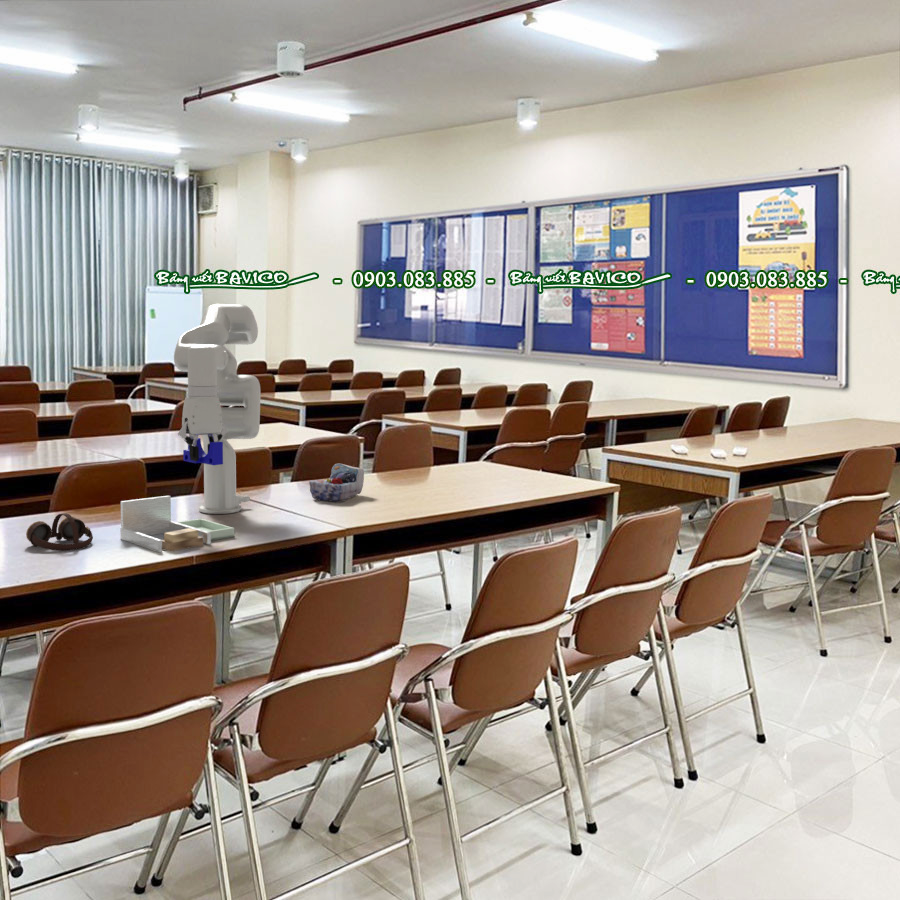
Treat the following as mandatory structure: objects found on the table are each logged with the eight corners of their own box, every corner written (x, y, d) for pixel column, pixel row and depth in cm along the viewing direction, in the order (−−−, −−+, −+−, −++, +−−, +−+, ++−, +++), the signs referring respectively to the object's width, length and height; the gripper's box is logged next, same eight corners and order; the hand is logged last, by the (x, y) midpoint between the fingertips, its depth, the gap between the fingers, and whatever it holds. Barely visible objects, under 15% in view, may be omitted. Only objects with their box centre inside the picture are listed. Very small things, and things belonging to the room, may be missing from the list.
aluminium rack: (170, 531, 281) (169, 495, 280) (210, 543, 267) (210, 506, 266) (119, 538, 271) (118, 501, 270) (158, 552, 257) (157, 513, 255)
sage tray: (201, 527, 287) (201, 518, 287) (234, 537, 276) (234, 527, 275) (174, 531, 281) (174, 522, 281) (206, 541, 270) (206, 532, 269)
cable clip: (183, 460, 279) (183, 438, 278) (197, 459, 282) (197, 437, 281) (208, 465, 270) (208, 443, 270) (222, 464, 274) (222, 442, 273)
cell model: (368, 463, 343) (340, 472, 324) (368, 495, 344) (340, 506, 326) (333, 460, 348) (304, 469, 329) (333, 491, 349) (304, 502, 331)
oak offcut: (189, 535, 267) (189, 528, 267) (198, 537, 265) (198, 530, 265) (164, 540, 261) (164, 533, 260) (172, 542, 259) (172, 535, 258)
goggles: (77, 536, 272) (81, 501, 269) (103, 555, 264) (107, 519, 262) (22, 545, 261) (25, 508, 258) (47, 565, 253) (50, 527, 250)
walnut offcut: (193, 544, 268) (193, 534, 268) (203, 546, 265) (202, 537, 265) (159, 549, 261) (159, 540, 261) (169, 552, 258) (169, 543, 258)
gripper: (222, 390, 282) (222, 455, 285) (166, 392, 270) (167, 460, 273) (237, 392, 277) (237, 458, 279) (181, 394, 265) (182, 464, 267)
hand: (203, 458), depth 276 cm, fingers closed on cable clip, 4 cm apart
